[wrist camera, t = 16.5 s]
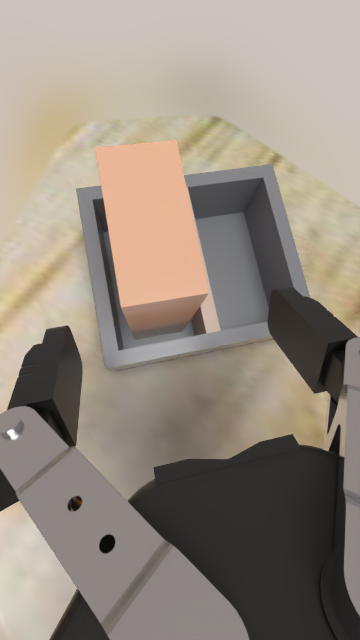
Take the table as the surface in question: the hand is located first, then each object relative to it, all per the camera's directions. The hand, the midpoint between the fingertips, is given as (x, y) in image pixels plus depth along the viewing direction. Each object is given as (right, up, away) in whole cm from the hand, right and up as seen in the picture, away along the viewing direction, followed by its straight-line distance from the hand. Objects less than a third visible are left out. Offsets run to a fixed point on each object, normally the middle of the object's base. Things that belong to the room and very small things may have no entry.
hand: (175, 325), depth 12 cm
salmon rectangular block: (-2, +3, +14) cm, 14 cm away
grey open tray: (+1, +4, +15) cm, 16 cm away
